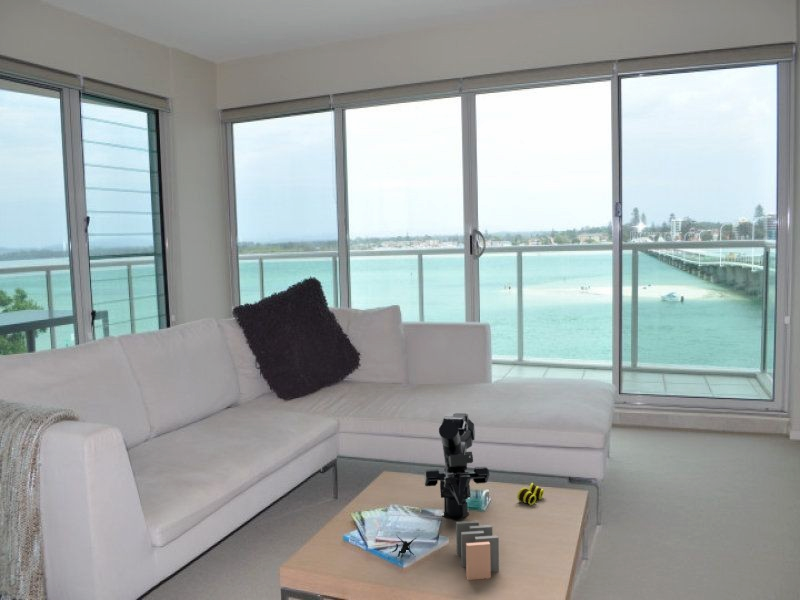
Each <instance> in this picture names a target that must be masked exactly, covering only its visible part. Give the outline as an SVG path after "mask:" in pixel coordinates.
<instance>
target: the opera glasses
mask: <svg viewBox="0 0 800 600" xmlns="http://www.w3.org/2000/svg"><path fill="white" fill-rule="evenodd" d="M544 494H545V490H544V488H540V487H539V486H537V485H535V484H534V483H533V482H531V483H530V486H529V488H528V487H522V488H521V489H520V490H519V491H518V492H517V497H516V498H517V501H518V502H520V503H522V502H523V503H525V504H528V505H529V506H532V505H535V502H536V501H537V499H538V500H541V499H543V496H544Z"/></svg>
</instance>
